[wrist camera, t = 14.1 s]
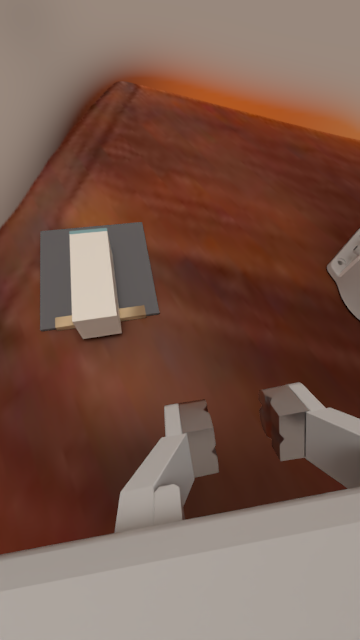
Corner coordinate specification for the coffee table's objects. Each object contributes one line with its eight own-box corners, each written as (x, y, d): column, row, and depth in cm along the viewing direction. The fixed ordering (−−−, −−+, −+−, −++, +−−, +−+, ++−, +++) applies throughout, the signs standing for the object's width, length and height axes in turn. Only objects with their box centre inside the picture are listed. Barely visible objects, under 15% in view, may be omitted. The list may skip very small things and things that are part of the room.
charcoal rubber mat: (142, 224, 45) (141, 222, 45) (159, 314, 38) (159, 312, 38) (41, 233, 42) (40, 231, 42) (41, 331, 36) (40, 330, 35)
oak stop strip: (144, 308, 39) (144, 305, 38) (146, 317, 38) (145, 314, 37) (57, 320, 37) (55, 317, 36) (57, 330, 36) (55, 327, 35)
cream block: (121, 333, 35) (112, 252, 42) (116, 315, 31) (106, 227, 37) (83, 339, 35) (78, 255, 41) (72, 321, 30) (69, 231, 36)
